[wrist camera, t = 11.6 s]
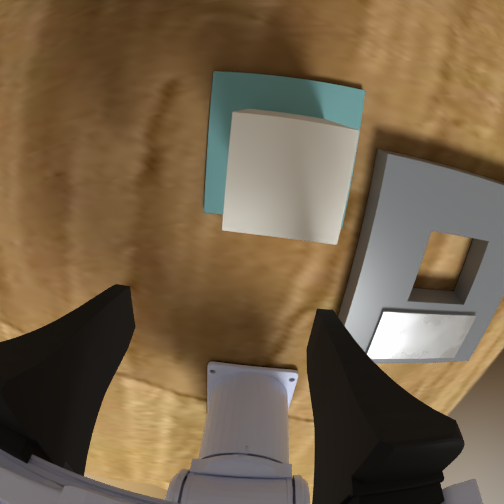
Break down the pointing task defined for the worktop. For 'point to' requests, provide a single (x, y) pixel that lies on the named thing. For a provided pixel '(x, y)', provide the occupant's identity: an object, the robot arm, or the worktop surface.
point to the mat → (271, 99)
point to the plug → (288, 175)
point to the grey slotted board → (410, 257)
